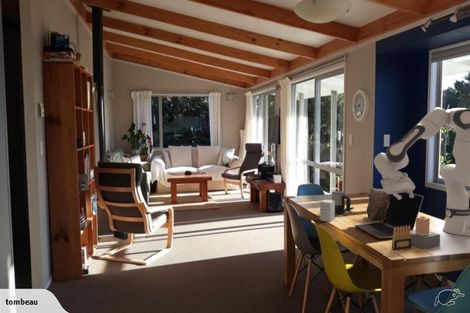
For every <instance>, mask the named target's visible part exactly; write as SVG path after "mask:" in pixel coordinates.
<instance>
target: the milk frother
mask: <svg viewBox="0 0 470 313" xmlns="http://www.w3.org/2000/svg"><path fill="white" fill-rule="evenodd" d="M331 200H332V201H335V215H343V214H345V213H346V212H349V211H351V210H354V209H355V207H354V206H352V207H351V202H352V200H351V196H349V195H347V194H346V192H344V191H339V190H336V191H331ZM345 201H346V202H345ZM345 204H346V205H345Z"/></svg>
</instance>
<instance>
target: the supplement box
mask: <svg viewBox="0 0 470 313" xmlns="http://www.w3.org/2000/svg"><path fill="white" fill-rule="evenodd" d="M335 216H336V214H335V201H332V199H331V200H330V199H322V200H321V201H319V220H320V221H324V222H329V223H330V222H332V221H335Z"/></svg>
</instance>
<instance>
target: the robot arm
mask: <svg viewBox="0 0 470 313" xmlns="http://www.w3.org/2000/svg"><path fill="white" fill-rule="evenodd" d="M443 127H446V128H453V129H455V132H456V134H455V139H454V142H453V143H454V144H453V148H452V156H453V158H454V160H455V164H454V163H451V164H450V163H448V164H445V165H443V166H442V167H441V168H440V170H439V171H440V172H439V174H440V177H441V178H442V180H443V182H444V185H445V190H446V207H445V221H444V224H443V228H442V231H443V232H444V233H448V234H452V235H460V236H461V235H462V236H464V237H465V236H466V237H470V208H469V206H470V195H469V193H468V192H467V190H466V187H469V186H470V109H469V108H466V107H455V108H451V109H444V108H442V107H435V108H433V109H432V110H431V111H429V112H428V113H427V114H426V115H425V116H424V117H422V119H421V120H420V121H419V122H418V123H417V124H416V125H415V126H413V127H412V128H411V129H410V130H409V131H408V132H407V133H406V134H405V135H403V136H402V137H401V138H400V139H399V140H398V141H397V142H394V143H392V144H391V145H389V146H388V147H387V148H386V150H385V151H386V152H380V153H378V154H377V155H376V156H375V157H374V159H373V162H374V166H375V168H376V170H377V171H378V173H380V175H381V177H382V179H381V180H380V184H381V187H382V189H384V191H385V192H386V193H387V194H388V195H392V196H394V197H395V198H397V200H401V199H402V198H403V196H402V195H401V194H400V193H408V194H409V195H408V196H409V198H410V199H413V198H414V197H415V195H414V193H413V191H414V190H415V189H416V185H415V183H414V182H413V181H412V180H411V178H410V177H409V175H408V174H407V172H402V171H399V170H401V169H404V168H406V167H407V166H408V165H409V162H410V159H409V157H408V156H409V155H408V154H407V151H408V149H409V148H410V147H411V146H412V145H414V143H416V141H417V140H419V139H423V140H431V139H432V138H433V137H434V136H436V135H437V133H439V131H440V130H441V129H442V128H443Z"/></svg>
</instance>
